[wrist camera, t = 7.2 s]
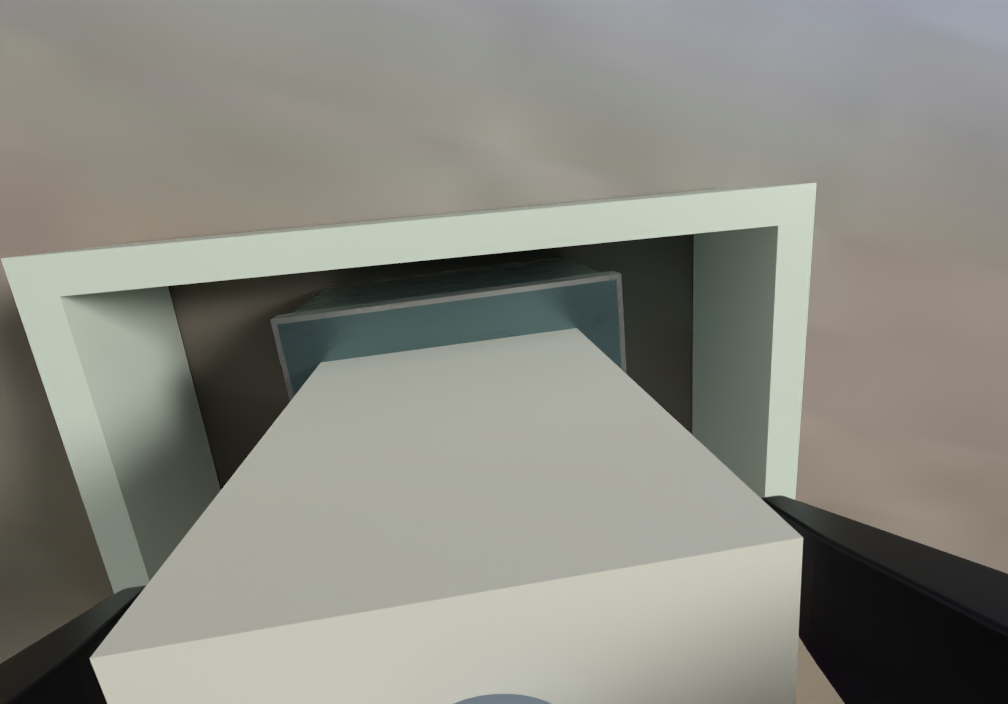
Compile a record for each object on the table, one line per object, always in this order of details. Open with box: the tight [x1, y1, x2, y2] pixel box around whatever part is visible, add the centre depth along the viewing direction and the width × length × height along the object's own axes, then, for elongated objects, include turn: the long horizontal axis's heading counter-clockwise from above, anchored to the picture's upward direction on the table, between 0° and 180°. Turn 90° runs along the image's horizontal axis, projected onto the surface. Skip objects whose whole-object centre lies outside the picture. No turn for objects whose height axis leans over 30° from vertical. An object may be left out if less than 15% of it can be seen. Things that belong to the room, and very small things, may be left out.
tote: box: [1, 183, 816, 594], centre depth 16 cm, size 23×16×4 cm
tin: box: [270, 257, 627, 401], centre depth 14 cm, size 7×7×5 cm
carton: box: [89, 328, 803, 704], centre depth 8 cm, size 5×5×8 cm
